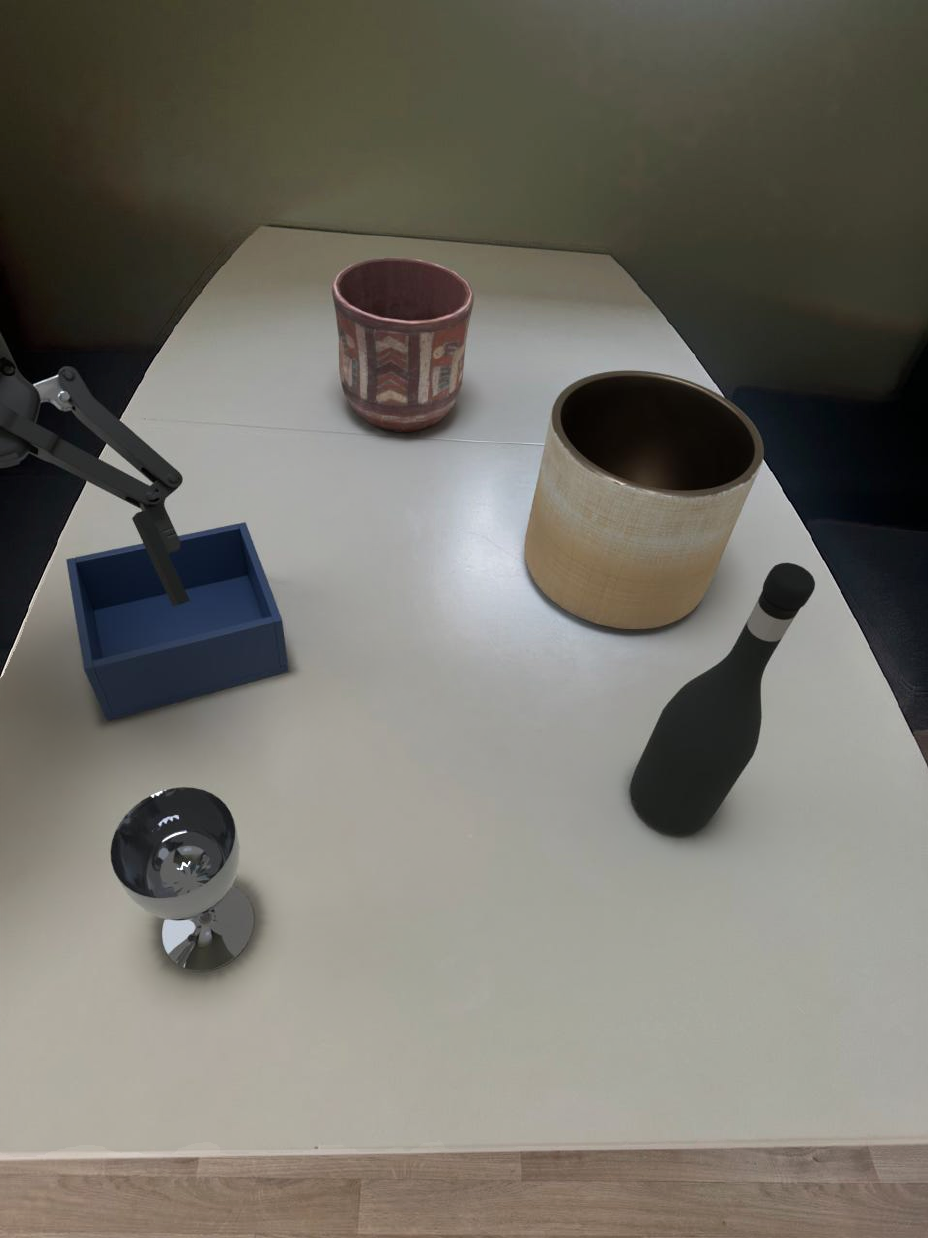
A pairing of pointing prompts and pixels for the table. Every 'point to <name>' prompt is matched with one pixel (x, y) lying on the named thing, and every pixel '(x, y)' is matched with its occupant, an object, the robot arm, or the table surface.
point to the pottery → (401, 340)
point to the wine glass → (186, 874)
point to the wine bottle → (716, 717)
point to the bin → (175, 622)
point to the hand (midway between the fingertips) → (80, 645)
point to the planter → (638, 496)
